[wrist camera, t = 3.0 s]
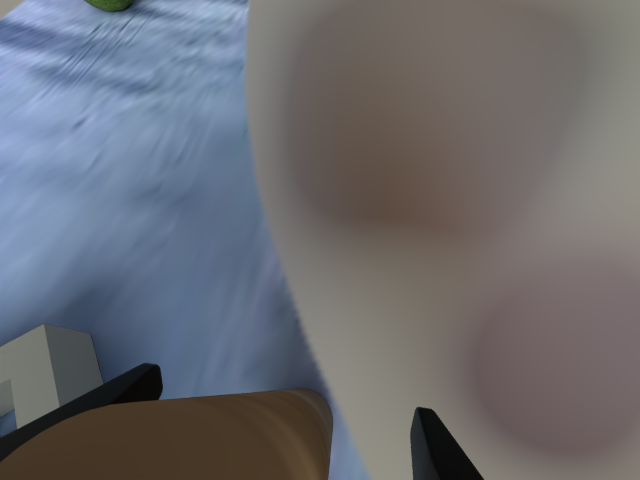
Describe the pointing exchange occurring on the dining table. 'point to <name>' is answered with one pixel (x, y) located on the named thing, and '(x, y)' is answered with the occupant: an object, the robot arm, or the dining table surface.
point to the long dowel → (185, 440)
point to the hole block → (46, 371)
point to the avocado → (109, 4)
